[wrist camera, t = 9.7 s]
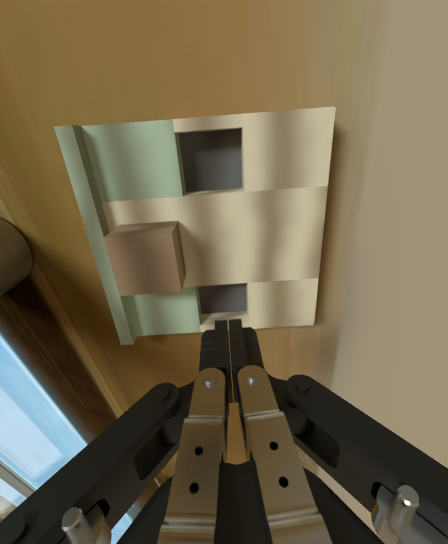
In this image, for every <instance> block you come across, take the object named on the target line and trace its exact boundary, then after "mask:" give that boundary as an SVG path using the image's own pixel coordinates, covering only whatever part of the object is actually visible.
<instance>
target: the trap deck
mask: <svg viewBox="0 0 448 544" xmlns="http://www.w3.org/2000/svg"><path fill="white" fill-rule="evenodd" d="M335 109H336V107H325V108H312V109H299V110H286V111H273V112H261V113H248V114H235V115H222V116H209V117H196V118H183V119H170V120H157V121H145V122H132V123H119V124H106V125H93V126H74V125H69V126H57V127H54V128H55V131H56V134H57V138H58V141H59V144H60V148H61V151H62V154H63V157H64V161H65V164H66V167H67V170H68V174H69V177H70V180H71V183H72V187H73V190H74V193H75V196H76V200H77V203H78V206H79V209H80V213H81V216H82V219H83V222H84V226H85V229H86V232H87V236H88V239H89V242H90V245H91V249H92V252H93V255H94V258H95V262H96V265H97V268H98V271H99V275H100V278H101V281H102V284H103V288H104V291H105V294H106V297H107V301H108V304H109V307H110V310H111V314H112V317H113V320H114V324H115V327H116V330H117V333H118V337H119V340H120V343H121V345H132V344H134V342H135V340H136V338H137V336H148V335H164V334H180V333H195V332H205V331H206V330H214V329H215V320H227V322H228V330H229V320H228V319H241V321H242V328H244V327H252V329H258V328H274V327H290V326H305V325H314V319H315V309H316V299H317V289H318V279H319V269H320V259H321V249H322V239H323V229H324V219H325V209H326V199H327V189H328V179H329V169H330V159H331V149H332V139H333V129H334V119H335ZM166 221H178V222H179V228H180V235H181V242H182V249H183V256H184V262H185V269H186V276H185V280H184V284H183V288H182V292H173V293H158V294H143V295H129V296H120V293H119V290H118V286H117V283H116V279H115V276H114V272H113V268H112V265H111V261H110V258H109V254H108V251H107V247H106V243H105V240H104V237H105V236H106V235H107V234H109V233H110V232H111V231H112V230H114V229H115V228H116V227H117V226H119V225H124V224H138V223H152V222H166Z"/></svg>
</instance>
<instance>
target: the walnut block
mask: <svg viewBox="0 0 448 544" xmlns="http://www.w3.org/2000/svg"><path fill="white" fill-rule="evenodd" d="M104 240H105V243H106V247H107V251H108V254H109V258H110V261H111V265H112V268H113V272H114V276H115V279H116V283H117V286H118V290H119V293H120V296H129V295H143V294H158V293H173V292H182V288H183V284H184V280H185V276H186V269H185V262H184V256H183V249H182V242H181V235H180V228H179V222H178V221H166V222H152V223H138V224H124V225H119V226H117V227H116V228H115V229H114V230H112V231H111V232H110V233H109V234H107V235H106V236H105V237H104Z"/></svg>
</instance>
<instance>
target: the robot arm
mask: <svg viewBox="0 0 448 544" xmlns="http://www.w3.org/2000/svg"><path fill="white" fill-rule="evenodd" d="M32 262H33V259H32V253H31V250H30V248H29V245H28V243H27V242H26V240H25V239H24V237H23V236H22V235H21V234H20V232H19V231H18V230H17V229H16V228H14V227H13V226H12V225H11V224H10V223H8V222H7V221H5V220H3V219H2V218H0V296H1V295H2V294H4V293H5V292H7V291H8V290H10V289H11V288H12V287H14V286H15V285H17V284H18V283H20V282H21V281H22V280H24V279H25V278H26V277H27V276H28V275H29V273H30V271H31V268H32ZM228 320H229V336H230V351H229V337H228V322H227V320H215V329H214V330H206V331H205V332H204V334H203V335H202V339H201V352H200V366H199V373H198V374H197V376H196V378H195V380H194V381H193V382H191V383H190V384H188V385H186V386H183V387H180V388H177V387H176V386H175V385H173V384H171V383H162V384H159V385H156V386H155V387H153V388H152V389H151V390H150V391H149V392H148V393H146V394H145V395H144V396H143V397H142V398H141V399H140V400H138V401H137V402H136V403H135V404H134V405H133V406H132V407H130V408H129V409H128V410H127V411H126V412H125V413H124V414H123V415H121V416H120V417H119V418H118V419H117V420H116V421H115V422H113V423H112V424H111V425H110V426H109V427H108V428H107V429H105V430H104V431H103V432H102V433H101V434H100V435H99V436H98V437H96V438H95V439H94V440H93V441H92V442H91V443H90V444H88V445H87V446H86V447H85V448H84V449H83V450H82V451H80V452H79V453H78V454H77V455H76V456H75V457H74V458H72V459H71V460H70V461H69V462H68V463H67V464H66V465H65V466H63V467H62V468H61V469H60V470H59V471H58V472H57V473H55V474H54V475H53V476H52V477H51V478H50V479H49V480H47V481H46V482H45V483H44V484H43V485H42V486H41V487H40V488H38V489H37V490H36V491H35V492H34V493H33V494H32V495H30V496H29V497H28V498H27V499H26V500H25V501H24V502H22V503H21V504H20V505H19V506H18V507H17V508H16V509H14V510H13V511H12V512H11V513H10V514H9V515H8V516H7V517H6V518H4V519H3V520H2V521H1V523H0V544H111V530H112V529H113V527H114V526H115V525H116V524H117V523H118V521H119V520H120V519H121V518H122V517H123V515H124V514H125V513H126V512H127V511H128V509H129V508H130V507H131V506H132V505H133V503H134V502H135V501H136V500H137V499H138V497H139V496H140V495H141V494H142V493H143V491H144V490H145V489H146V488H147V487H148V485H149V484H150V483H151V482H152V481H153V479H154V478H155V477H156V476H157V475H158V473H159V472H160V471H161V470H162V469H163V467H164V466H165V465H166V464H167V463H168V461H169V460H170V459H171V458H172V457H173V455H174V454H175V453H176V452H177V451H178V453H177V459H176V464H175V469H174V474H173V476H172V477H171V478H169V479H168V480H167V481H165V482H164V483H163V484H162V485H161V486H160V487H159V488H158V489H157V491H156V492H155V493H154V494H153V496H152V497H151V498H150V500H149V501H148V502H147V504H146V505H145V506H144V508H143V509H142V510H141V512H140V513H139V514H138V516H137V517H136V518H135V520H134V521H133V522H132V524H131V525H130V526H129V528H128V529H127V530H126V532H125V533H124V534H123V536H122V537H121V538H120V539H119V541H118V542H117V543H116V544H448V468H446V467H444V466H443V465H441V464H440V463H439V462H437V461H435V460H434V459H433V458H431V457H429V456H428V455H427V454H425V453H423V452H422V451H421V450H419V449H418V448H416V447H415V446H413V445H412V444H410V443H408V442H407V441H406V440H404V439H403V438H401V437H400V436H398V435H396V434H395V433H394V432H392V431H391V430H389V429H387V428H386V427H384V426H383V425H381V424H380V423H378V422H377V421H375V420H374V419H372V418H371V417H369V416H368V415H366V414H365V413H363V412H362V411H360V410H359V409H357V408H356V407H354V406H353V405H351V404H350V403H348V402H347V401H345V400H344V399H342V398H341V397H339V396H337V395H336V394H335V393H333V392H332V391H330V390H329V389H327V388H326V387H324V386H323V385H321V384H320V383H318V382H317V381H315V380H314V379H312V378H311V377H309V376H306V375H294V376H291V377H290V378H289V379H288V380H287V381H285V380H281V379H277V378H274V377H272V376H270V375H269V374H268V373H267V372H266V371H265V369H264V366H263V361H262V357H261V352H260V348H259V343H258V339H257V334H256V332H255V331H254V330H253V329H252V327H244V328H242V321H241V319H228ZM230 352H231V365H232V379H233V392H234V403H235V402H238V403H239V417H240V424H241V430H242V435H243V441H244V447H245V453H246V459H247V462H245V463H242V464H239V465H234V464H230V463H227V449H228V416H229V403H233V397H232V381H231V366H230ZM295 444H296V445H297V446H298V447H299V448H301V449H302V450H303V451H304V452H305V453H306V454H307V455H308V456H309V457H310V458H311V459H313V460H314V461H315V462H316V463H317V464H318V465H319V466H320V467H321V468H322V469H324V470H325V471H326V472H327V473H328V474H329V475H330V476H331V477H332V478H333V479H334V480H336V481H337V482H338V483H339V484H340V485H341V486H342V487H343V488H344V489H345V490H347V491H348V492H349V493H350V494H351V495H352V496H353V497H354V498H355V499H356V500H358V501H359V502H360V503H361V504H362V505H363V506H364V507H365V508H366V509H367V510H368V511H369V512H371V518H372V523H373V526H374V528H375V531H376V532H377V534H378V535H379V537H380V538H381V539H380V538H379V537H378V536H377V535H376V534H375V533H374V532H373V531H372V530H371V529H370V528H369V527H368V526H367V525H366V524H365V523H364V522H363V521H362V520H361V519H360V518H359V517H358V516H357V515H356V514H355V513H354V512H353V511H352V510H351V509H350V508H349V507H348V506H347V505H346V504H345V503H344V502H343V501H342V500H341V499H340V498H339V497H338V496H337V495H336V494H335V493H334V492H333V491H332V490H331V489H330V488H329V487H328V486H327V485H326V484H325V483H324V482H323V481H322V480H321V479H320V478H319V477H317V476H316V475H315V474H314V473H312V472H310V471H309V470H307V469H305V468H303V467H302V464H301V461H300V458H299V455H298V452H297V449H296V446H295Z"/></svg>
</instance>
